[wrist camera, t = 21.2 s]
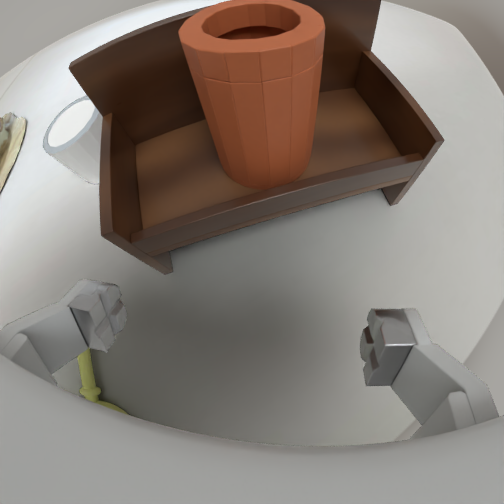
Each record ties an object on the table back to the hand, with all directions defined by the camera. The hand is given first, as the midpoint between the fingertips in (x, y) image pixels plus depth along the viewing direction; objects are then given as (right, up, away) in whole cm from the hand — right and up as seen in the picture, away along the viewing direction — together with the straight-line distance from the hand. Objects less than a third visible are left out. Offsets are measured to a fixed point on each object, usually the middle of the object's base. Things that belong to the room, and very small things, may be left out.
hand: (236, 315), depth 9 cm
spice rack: (+2, +8, +14) cm, 16 cm away
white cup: (-15, +11, +17) cm, 26 cm away
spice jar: (+1, +9, +10) cm, 13 cm away
